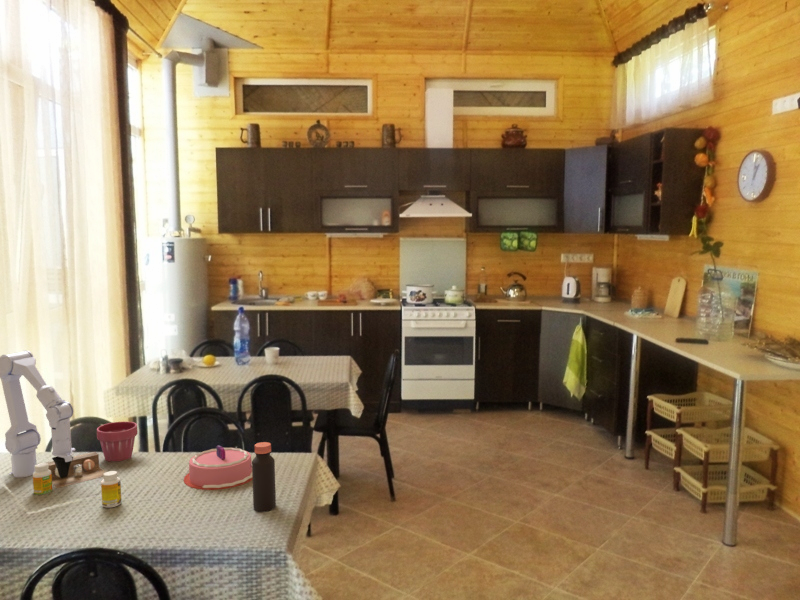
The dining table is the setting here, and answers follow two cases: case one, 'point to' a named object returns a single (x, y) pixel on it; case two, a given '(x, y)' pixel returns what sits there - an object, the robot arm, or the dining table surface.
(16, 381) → the robot arm
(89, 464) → the knob terracotta
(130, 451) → the plant pot
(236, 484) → the cake
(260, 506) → the vinegar
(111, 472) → the supplement bottle
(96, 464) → the mount
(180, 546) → the dining table surface
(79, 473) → the pot dial
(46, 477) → the supplement bottle
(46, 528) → the dining table surface
